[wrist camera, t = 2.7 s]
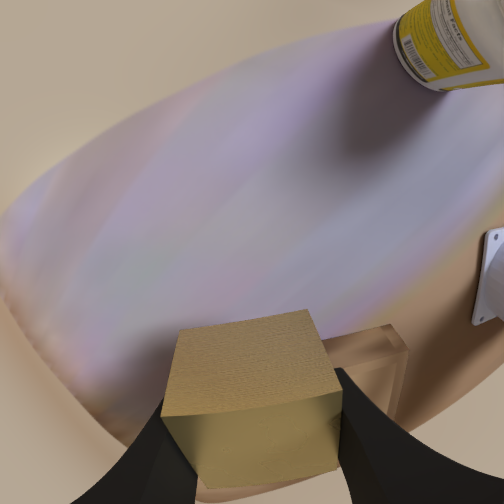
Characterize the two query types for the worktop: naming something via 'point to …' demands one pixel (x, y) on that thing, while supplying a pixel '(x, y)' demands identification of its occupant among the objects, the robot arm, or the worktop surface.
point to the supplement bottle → (452, 43)
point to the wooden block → (254, 401)
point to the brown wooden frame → (373, 363)
